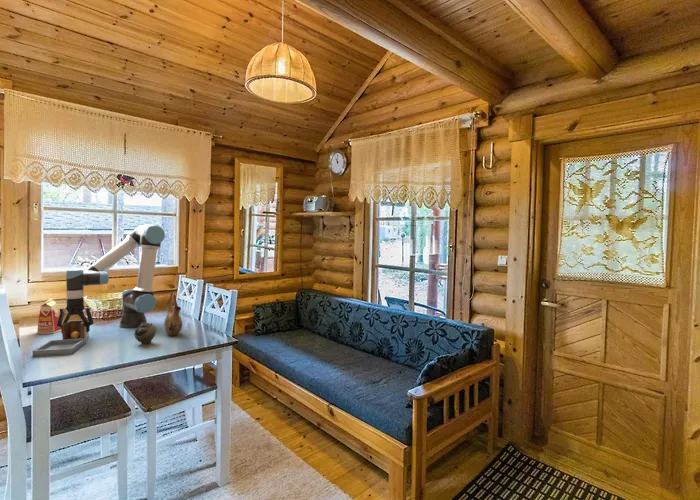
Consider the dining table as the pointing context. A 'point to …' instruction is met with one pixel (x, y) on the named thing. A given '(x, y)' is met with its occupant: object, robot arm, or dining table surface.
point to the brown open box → (73, 329)
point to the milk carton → (48, 318)
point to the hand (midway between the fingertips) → (75, 338)
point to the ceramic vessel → (173, 317)
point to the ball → (75, 335)
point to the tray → (59, 347)
